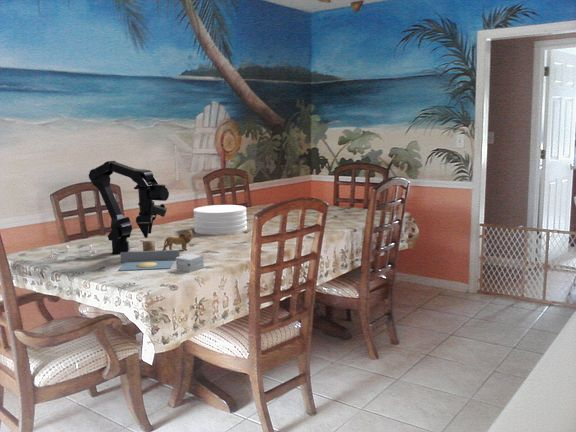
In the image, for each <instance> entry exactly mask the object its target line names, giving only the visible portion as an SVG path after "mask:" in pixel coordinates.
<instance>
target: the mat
mask: <svg viewBox="0 0 576 432" xmlns="http://www.w3.org/2000/svg"><path fill="white" fill-rule="evenodd" d="M174 262H175V260H163V261H139V262H123V264H121V266H120V267H119V268H118V269H117V272H126V271H127V272H128V271H151V270H152V271H153V270H169V269H170V270H171V269H172V266H173V264H174Z"/></svg>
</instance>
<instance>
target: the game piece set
mask: <svg viewBox="0 0 576 432" xmlns="http://www.w3.org/2000/svg"><path fill="white" fill-rule="evenodd" d="M88 248H89V251H88V254H89V255H88V256H89V257H93V256H94V254H97V250H96V249H94V250H93V245H92V244H89V245H88ZM64 249H65V250H66V253H69V252H70V246H69V245H65V246H64ZM83 249H84V247H82V248H80V249H79V250H83ZM57 251H58V248H56V251H54V250H53V249H51V250H50V253H51V255H49V258H50V257H51V256H52V257H53V256H54V257H53V259H54V260H58V258H59V256H58V255H59V253H58V252H57ZM68 251H69V252H68ZM52 257H51V258H52ZM78 258H81V259H82V258H83V255H82V254H81V253H79V255H77V259H78ZM64 261H70V258H69V255H65V256H64Z"/></svg>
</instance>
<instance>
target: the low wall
mask: <svg viewBox="0 0 576 432" xmlns="http://www.w3.org/2000/svg"><path fill="white" fill-rule="evenodd" d="M162 250H163V249H162ZM162 250H155V251H143V250H140V251H139V250H137V251H128V252H120V254H119V256H120V263H125V262H149V261H173V260H174V261H176V257H180V256H181V255H180V249H172V250H170V249H169V250H168V249H167V250H163V251H162Z"/></svg>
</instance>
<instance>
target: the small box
mask: <svg viewBox="0 0 576 432" xmlns="http://www.w3.org/2000/svg"><path fill="white" fill-rule="evenodd" d="M204 261H205V259H204V255H200V254H194V253H186V254H183V255H180V257H176V260H175V263H176V264H175V265H176V266H175V267H176V270H177V271H183V272H188V273H193V272H195V270H196V271H198V270H201V268H202V269H204V268H205V262H204Z"/></svg>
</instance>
